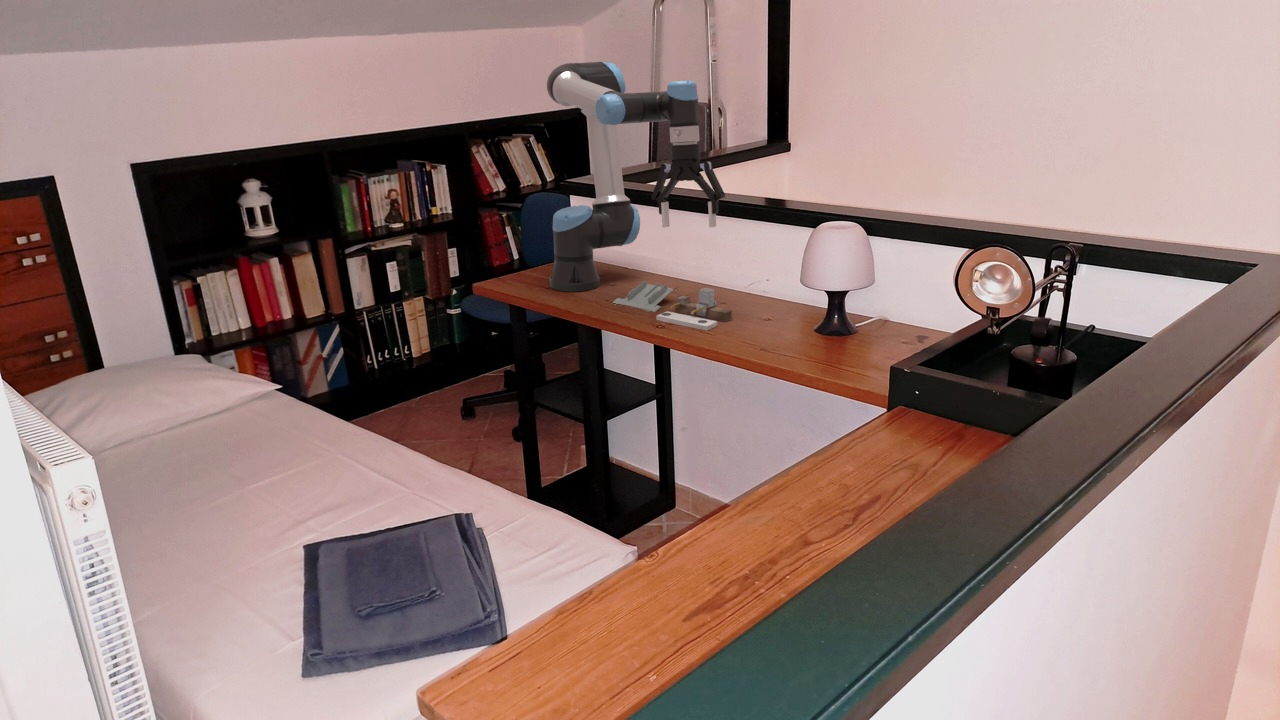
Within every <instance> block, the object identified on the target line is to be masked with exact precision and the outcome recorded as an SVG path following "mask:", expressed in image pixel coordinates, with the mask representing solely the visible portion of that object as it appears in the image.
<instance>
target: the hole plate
mask: <svg viewBox="0 0 1280 720" xmlns="http://www.w3.org/2000/svg"><path fill="white" fill-rule="evenodd" d="M655 317H656V318H655V319H656V320H655V321H658V320H659V321H660V322H664V323H668V324H671V325H673V324H674V325H678V326H683V327H687V328H692V329H697V330H703V331H709V330H711V329H714V328H716V327H718V320H713V319H708V318H703V317H698V316H693V315H688V314H683V313H678V312H673V311H665V312H661V313H660V314H657V315H656V316H655Z"/></svg>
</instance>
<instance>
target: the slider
mask: <svg viewBox="0 0 1280 720" xmlns="http://www.w3.org/2000/svg"><path fill="white" fill-rule="evenodd" d="M710 307H717V300H715V288H710V287H703V288H700V289H698V303H697V304H696V310H694V311H692V312H691V314H695V313H696V315H700V316H705V317H706V316H707V308H710Z"/></svg>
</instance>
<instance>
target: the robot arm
mask: <svg viewBox="0 0 1280 720" xmlns="http://www.w3.org/2000/svg"><path fill="white" fill-rule="evenodd" d="M666 86H667V89H666V90H665V91H664V90H663V91H662V90H661V91H645V92H634V93H633V92H628V93H625V92H626V82H625V78H624V74H623V73H622V71H621V69H620V67H618V65H616V64H615V63H613V62H604V61H593V62H592V61H591V62H569V63H568V62H567V63H563V64H561V65H558V66H557V67H555V68H554V69H553V70H552V71H551V72H550V74H549V75H548V78H547V80H546V90H547V93H548V95H549V98H551V99H552V100H553V101H554V102H555V103H556V104H559V105H561V106H564V107H572V106H574V107H576V108H578V109H580V112H581V113H582V114H583V115H584V116H585V117H586V121H587V130H588V137H589V138H588V139H589V148H590V153H591V154H590V155H591V157H590V158H591V163H592V172H593V180H594V188H595V189H594V190H595V199H594V201H593V202H592V204H591V206H592V207H591V206H589V205H585V204H583V205H572V206H567V207H565V208H564V207H563V208H561V209H559V210H557V211H556V212H554V214H553V216H552V234H553V253H554V256H553V257H554V263H553V266H552V269H551V274H550V276H549V287H550V288H551V289H552V290H556V291H561V292H583V291H584V292H586V291H589V290H591V291H592V290H594V289H596V288H598V287H599V286H600V284H601V282H600V281H601V280H600V279H601V278H600V275H599V274H598V271H597V266H596V264H595V261H594V250H596V249H604V248H613V247H622V246H625V245H630V244H632V243H633V242H635V240H636V239H637V237H638V236H639V233H640V228H641V216H640V213H639V210H638V208H637V207H636V206H634V205H632V204H631V199H630V198H629V197H628V196H626V195H625V187H624V179H623V169H622V163H621V154H620V153H621V151H620V144H619V143H620V142H619V136H618V135H619V134H618V127H617V126H618V125H621V124H622V125H624V124H635V123H638V124H639V123H653V122H654V123H659V122H660V123H663V122H667V121H668V124H669V138H670V139H669V141H670V143H671V144H672V145H671V146H670V159H671V164H670V163H666V162H665V163H662V164H660V171H659V172H660V173H659V175H658V178H657V180H656V183H655V186H654V189H653V192H652V195H651V197H650V199H651V200H652V201H656V202H657V203H658V213H659V215H661V222H662V225H661V226H662V227H661V228H668V227H671V225H670V207H669V201H667V199H668V197H669V196H670V195H671V193H672V191H673V190H674V188H675V186H677V185H678V183H679V182H684V181H687V182H690V181H694V182H695V183H696V184H697V185H698V186H699V187H700V189H701V190H702V191H703V193H704V194H705V195H706V197H708V199H710V200H709V201H708V202H707V207H708V227H709V228H715V227H717V216H716V215H717V214H719V211H720V210H719V208H720V207H719V201H720V200H721V199H725V197H726V194H725V192H724V190H723V187H722V186H721V183H720V181H719V179H718V178H717V176H716V174H715V171H714V167H713V163H712V161H706V162H703V163H701V146H700V144H699V143H698V142H700V126H699V125H700V124H699V119H700V118H699V94H698V89H697V87H698V86H697V82H696V81H694V80H676V81H670V82H668V83H667V85H666ZM701 170H702V171H703V172H704V173H705V176H706V177H707V179H708V182H709V183H710V184H709V183H708V182H707V180H706V179H704V178H705V177H704V176H703V175H702V173H701ZM670 171H671V172H672V173H673V174H672V175H671V177H670V179H669V181H668V182H667V184H665V183H666V181H667V179H668V176H669V173H670ZM664 186H665V187H664Z"/></svg>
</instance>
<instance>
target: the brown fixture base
mask: <svg viewBox="0 0 1280 720" xmlns="http://www.w3.org/2000/svg"><path fill="white" fill-rule="evenodd" d="M696 304H698V303H697V302H696V303H695V302H690V296H687V295H682V296H680V297H677V298H676V302H675V303H674V304H672V305H669V306H670V307H669V309H672V310H673V309H674V308H675V313H678V314H683V315H688V316H693V317H698V318H703V319H708V320H713V321H717V322H724V323H726V322H728V321H731V320H732V314H733V309H727V308H722V307H717V306H716V307H710V308H707V316H706V317H705V316H700V315H696V313H695V314H691V312H692V311H694V310H696Z"/></svg>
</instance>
